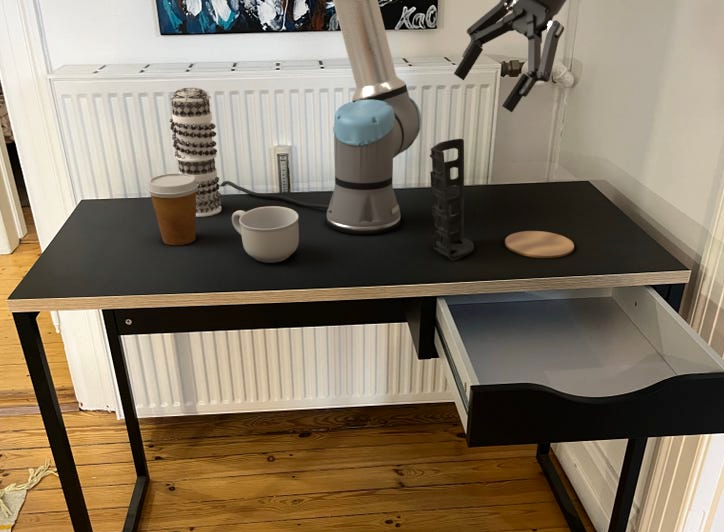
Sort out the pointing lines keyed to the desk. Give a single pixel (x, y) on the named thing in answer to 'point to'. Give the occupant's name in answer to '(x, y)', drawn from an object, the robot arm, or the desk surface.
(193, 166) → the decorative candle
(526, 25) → the robot arm
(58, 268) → the desk surface
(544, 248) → the cork mat
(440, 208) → the holder
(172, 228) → the disposable coffee cup
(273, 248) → the teacup
